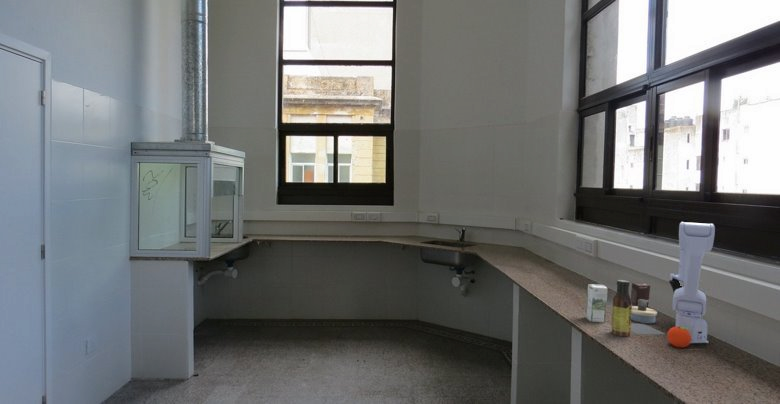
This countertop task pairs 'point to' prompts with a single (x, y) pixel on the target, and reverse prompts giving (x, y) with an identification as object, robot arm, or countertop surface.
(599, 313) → the syrup box
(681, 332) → the clementine
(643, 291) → the box
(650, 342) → the countertop surface
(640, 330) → the mat
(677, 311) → the robot arm
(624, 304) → the sauce bottle
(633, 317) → the bowl
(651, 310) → the lid
